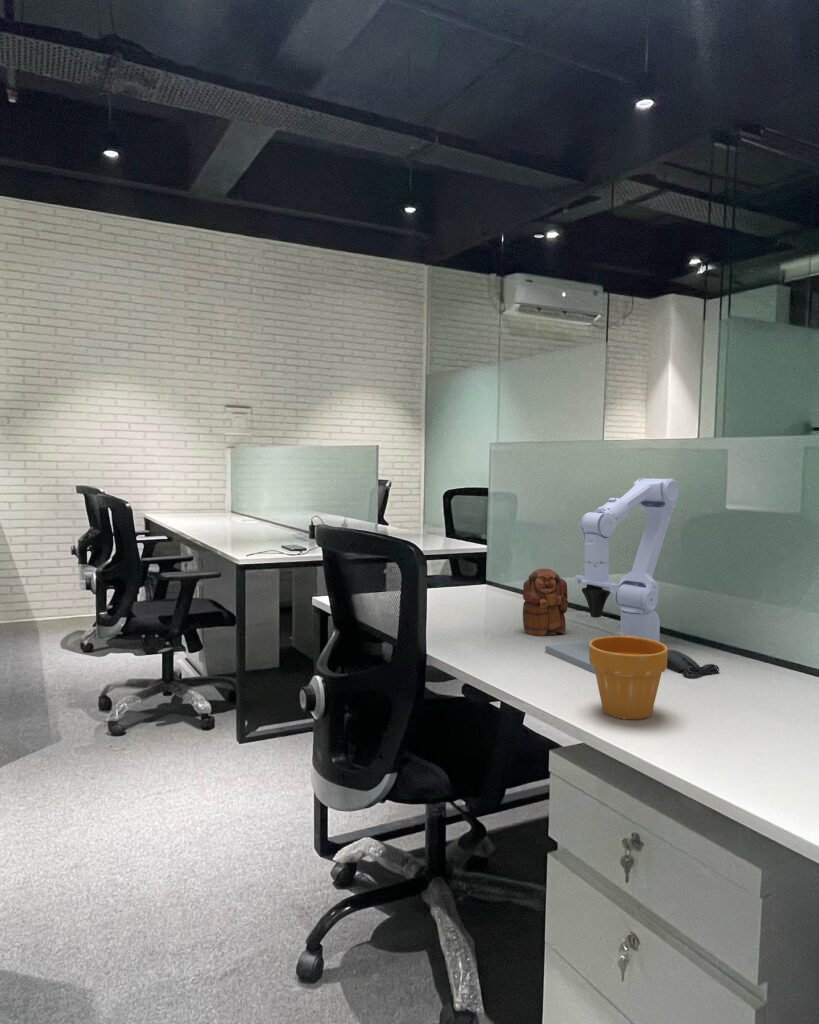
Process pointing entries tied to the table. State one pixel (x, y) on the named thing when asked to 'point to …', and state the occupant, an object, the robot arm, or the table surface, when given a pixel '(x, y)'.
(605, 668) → the flower pot
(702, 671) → the computer mouse
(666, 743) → the table surface
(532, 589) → the wooden figurine
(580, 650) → the base board
